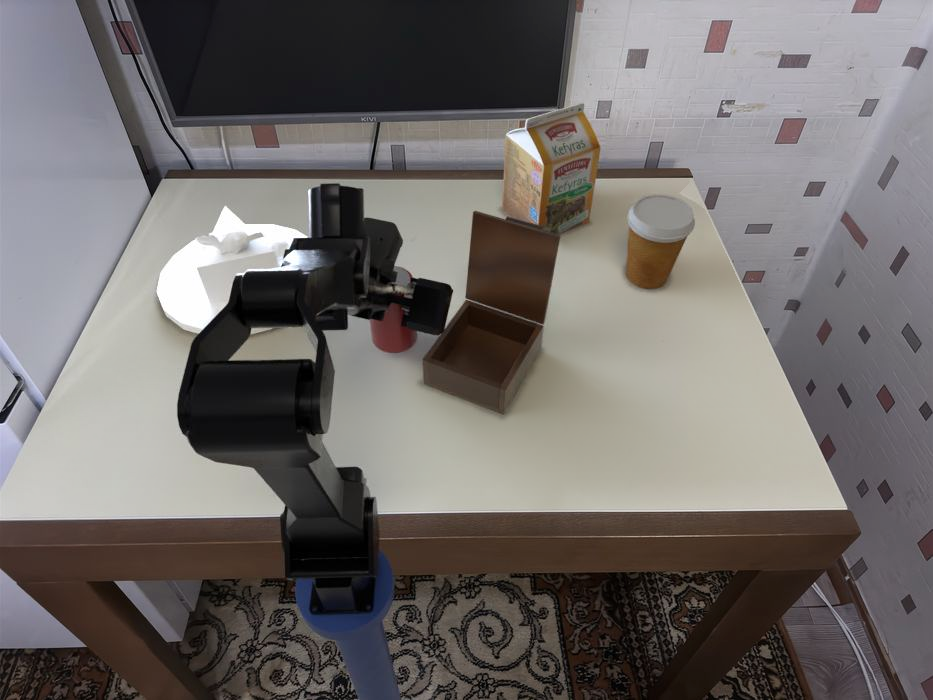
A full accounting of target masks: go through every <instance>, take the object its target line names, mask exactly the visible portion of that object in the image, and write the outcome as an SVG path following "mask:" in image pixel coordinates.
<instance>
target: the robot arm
mask: <svg viewBox="0 0 933 700" xmlns="http://www.w3.org/2000/svg"><path fill="white" fill-rule="evenodd" d="M364 191H365V190H364V188H362V187H354V186H349V185H348V186H347V185H341V184H340V183H339V182H338V183H336V182H334V183H333V182H332V183H320V184H319V186H315V187H312V188H308V227H309V228H308V230H309V231H308V233H309V236H307V237H308V238H293V240H292V243H291V245H290V248H289V249H285V252H284V256H283V260H282V264H281V267H278V268H273V269H256V270H247V271H246V272H245V273H242V274H237V275H236V276H235V278H234V281H233V284H232V289H231V293H230V297H229V302H228V304H227V305H226V306H225V307H224V308H223V309H222V310H221V311H220V312H219V313H218V314H217V315H216V316H215V317H214V318H213V319H212V320H211V322H210V323H209V324H208V325H207V326H206V327H205V328H204V329H203V330H202V331H201V332H200V333H199V334H198V333H197V335H196V336H195V337H194V338H193V340H192V342H191V344H190V347H189V351H188V356H187V360H186V363H185V368H184V372H183V375H182V379H181V383H180V386H179V391H178V397H177V403H176V417H177V423H178V427H179V429H180V431H181V434H182V436H184V437H185V438H186V440H187V442H188V444H189V445H190V447H191V449H192V450H193V451H194V452H195V453H196V454H197V455H198V456H201V457H203V458H205V459H207V460H210V461H212V462H214V463H219V464H227V465H231V466H239V467H245V468H251V469H253V470H254V471H255V472H256V473H257V474H258V475H259V477H260V478H261V479H262V480H263V481H264V482H265V483H266V484H267V486H268V487H269V488H270V489H271V490H272V491H273V493H274V494H275V495H276V497H278V498H279V500H280V501H281V502H282V503H283V504H284V508H283V509H284V510H283V511H282V513H280V516H279V524H280V525H279V526H280V539H281V549H282V555H283V558H284V578H285V580H287V581H296V580H297V579H312V581H313V582H312V590H311V598H310V605H309V611H310V613H311V614H312V615H335V614H368V613H371V612H372V611H373V609H374V597H375V581H376V578H377V567H378V552H379V550H380V521H379V513H378V502H377V497H376V496H371V491H370V488H369V487H368V485H367V480H368V479H367V478H366V477H365V476H364V472H363V469H361V468H360V467H359V466H336V465H335V463H334V461H333V459H332V457H331V455H330V453H329V451H328V449H327V447H326V446H325V444H324V442H323V435H326V434H328V432H329V428H330V423H331V415H332V405H333V395H334V386H335V376H336V375H335V374H336V369H335V366H334V362H333V358H332V354H331V351H330V348H329V344H328V341H327V337H326V335H325V333H324V332H330V331H346V330H348V329H349V316H351V317H355V318H358V319H363V320H368V321H370V320H371V319H374V320H378V321H383V320H384V315H385V312H387V311H388V308H389V307H390V305H391V303H395V304H399V305H402V309H404V313H403V317H402V322H401V326H404V327H408V329H410V330H414V331H417V333H418V332H419V333H421V334H427V335H431V336H436V337H437V336H438V337H439V336H440V335H441V334H442V333H443V332H444V329H445V328H446V326H447V325H446V324H447V320H448V315H449V310H450V308H451V307H450V306H451V302H452V297H453V294H454V289H453V287H452V286H451V284H449V283H446V282H442V281H437V280H433V279H427V278H423V277H418V278H417V277H413V276H412V277H413V278H412V277H411V281H410V282H409V283H408V284H407V285H406V286H402V285H398V284H393V283H395V282H396V279H397V274H398V272H396V271H393V269H394V266H396V263H397V262H396V261H397V259H398V256H399V254H400V251H401V248H402V247H403V245H404V240H403V237H402V235H401V232H400V230H399V228H398V226H397V224H395V223H394V222H393V221H388V220H382V219H379V218H373V217H365V194H364V193H365V192H364ZM392 282H393V283H392ZM394 291H395V293H397V291H398V293H399V294H400V292H401V294H403V293H404V295H405V296H404V297H403V296H398V295H394V294H393V292H394ZM407 293H408V294H407ZM252 328H273V329H287V328H289V329H290V328H292V329H293V328H304V331H305V334H306V336H307V338H308V341H309V342H310V344H311V346H312V347H313V349H314V351H315V353H316V354H315V361H314V360H313V359H311V358H286V359H284V358H283V359H279V358H278V359H240V360H239V359H237V360H235V359H234V360H231V358H233V356H234V355H235V354H236V353H237V352H238V351H239V350H240V349H241V347H242V346H243V345H244V344H245V343H246V342H247V340H248V339H249V338H250V336H251V335H252V334H251V329H252ZM368 606H370V607H371V608H370V609H366V608H367V607H368ZM313 608H317V609H316V610H315V611H312V609H313Z"/></svg>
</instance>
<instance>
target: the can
mask: <svg viewBox="0 0 933 700" xmlns="http://www.w3.org/2000/svg"><path fill="white" fill-rule="evenodd" d="M393 271H396V272H398V274H397V279H396V282H395V283H393V282H392V283H393V284H398V285H402V286H406V285H407V284H408V283H409V282H410V281H411V277H412V278H414V276H413V274H412V273H411V272H410V271H409V270H408V269H406V268H404V267H402V266H397V265H394V269H393ZM393 294H394V295H398V296H403V297H404V296H405V295H404V293H403V294H401V292H400V294H399V293H398V291H397V293H395V291H394V292H393ZM407 294H408V293H407ZM403 313H404V309H402V305H399V304H395V303H391V305H390V307H389V308H388V311H387V312H385V315H384V320H383V321H378V320H374V319H371V320H369V326H370V334H371V339H372V340H371V341H372V343H373V345H374V346H375V348H377V350H379V351H381V352H385V353H388V354H398V353H399V354H400V353H403V352H405V351H408V350H409V349H411V348H412V347H413V346H415V344H416V343H417V341H418V335H419V333H418V331H414V330H410V329H408V327H404V326H401V322H402V317H403Z"/></svg>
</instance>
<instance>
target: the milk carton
mask: <svg viewBox="0 0 933 700" xmlns="http://www.w3.org/2000/svg"><path fill="white" fill-rule="evenodd" d="M584 111H585V104H584V103H583V102H579V103H576V104H572V105H569V106H566V107H563V108H562V107H561V108H559V109H556V110H552V111H549V112H544V113H542V114H539V115H535V116H532V117H529V118H527V119H526V120H525V123H524V126H521V127H519V128H516V129H512V130H509V131H508V132H507V133H505V138H504V139H505V140H504V142H505V143H504V162H503V165H504V166H503V181H502V182H503V183H502V204H501V205H502V206H501V210H502V211H503V212H504V213H505V214H506V215H507V216H509V217H512V218H516V219H519V220H523V221H526V222H530V223H533V224H537V225H540V226H543V227H544V231H547V232H551V233H554V234H558V235H561V234H562V233H565V232H568V231H571V230H573V229H575V228H578V227H581V226H585V225H586V224H589V223H590V216H591V211H592V204H593V198H594V191H595V187H596V180H597V173H598V167H599V161H600V154H601V149H602V147H601V144H600V141H599V138H598V136H597V134H596V132H595V130H594V128H593V126H592V124H591V122H590V120H589V119H588V117H587V115H586V113H585V112H584Z"/></svg>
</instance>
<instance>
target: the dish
mask: <svg viewBox="0 0 933 700" xmlns="http://www.w3.org/2000/svg"><path fill="white" fill-rule="evenodd" d="M308 237H309V236H307V235H305V234H303V233H302V232H300V231H298V230H297V229H293V228H289V227H285V226H281V225H277V224H272V223H269V224H268V223H267V224H264V223H263V224H262V223H261V224H260V223H257V224H255V223H254V224H253V223H250V224H249V223H248V224H245V222H243V221H242V220H241V218H239V217H238V216H237V215H236V214H235V213H233V212H232V211H231V210H230V209H229V208H228V207H227V206H226V205H224V207H223V209H222V211H221V213H220V215H219V217H218V219H217V222H216V224H215V226H214V228H213V231H212V232H211V233H204V234H200V235H196V236H195V237H194V239H195V240H192V241H191V242H190V243H188V244H187V245H186V246H184V247H183V248H182V249H180V250H179V251H178V252H176V253H175V254H174V255H172V257H171V258H170V259H169V261H168V262H167V264H165V266H164V267H163V269H162V270H161V272H160V274H159V279H158V283H157V288H156V294H157V297H158V299H159V302H160V305H161V307H162V309H163V312H164V314H165V316H166V317H167V318H168V319H169V320H171V321H172V322H173V323H175V324H176V325H177V326H179V327H180V328H181V329H182V330H184V331H188V332H191V333H194V334H197V335H198V334H199V333H200V332H201V331H202V330H203V329H204V328H205V327H206V326H207V325H208V324H209V323H210V322H211V320H212V319H213V318H214V317H215V316H216V315H217V314H218V313H219V312H220V311H221V310H222V309H223V308H224V307H225V306H226V305H227V304H228V302H229V297H230V293H231V289H232V284H233V281H234V278H235V276H236V275H237V274H242V273H245V272H246V271H247V270H256V269H273V268H278V267H281V264H282V260H283V256H284V252H285V249H289V248H290V245H291V243H292V240H293V238H308ZM273 329H274V328H252V329H251V334H250V335H254V334H257V333H262V332H266V331H270V330H271V331H272V330H273Z"/></svg>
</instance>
